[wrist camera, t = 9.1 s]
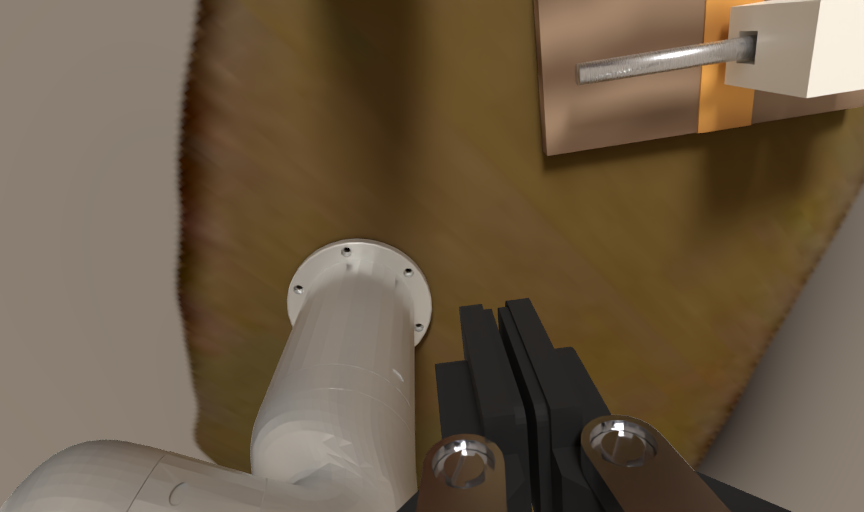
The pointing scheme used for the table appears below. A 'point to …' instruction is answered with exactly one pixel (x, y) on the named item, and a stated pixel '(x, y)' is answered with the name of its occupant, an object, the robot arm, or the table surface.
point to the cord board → (650, 94)
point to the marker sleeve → (800, 47)
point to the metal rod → (666, 60)
